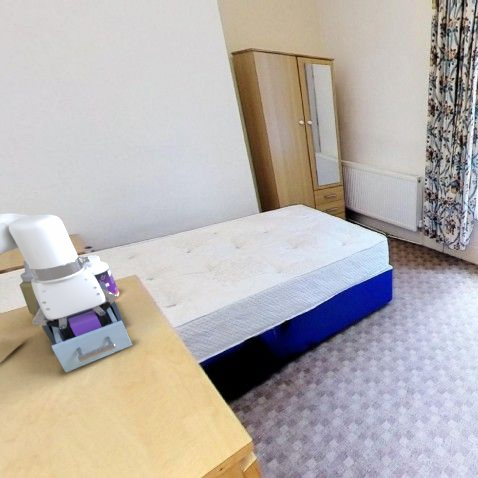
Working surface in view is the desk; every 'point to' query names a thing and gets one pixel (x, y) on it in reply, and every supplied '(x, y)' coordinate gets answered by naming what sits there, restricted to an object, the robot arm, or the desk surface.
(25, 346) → the desk surface
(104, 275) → the pill bottle
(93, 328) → the block
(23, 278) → the squeeze bottle
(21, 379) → the desk surface
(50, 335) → the dark grey drawer cabinet
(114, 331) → the pull-out drawer
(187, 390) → the desk surface
